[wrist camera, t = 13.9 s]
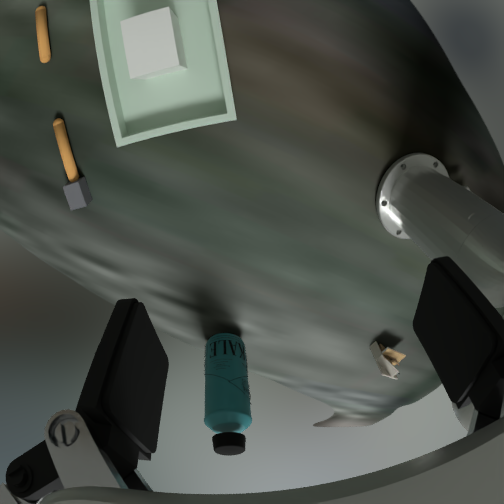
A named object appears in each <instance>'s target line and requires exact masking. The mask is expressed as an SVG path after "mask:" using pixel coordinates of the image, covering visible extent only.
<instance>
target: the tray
mask: <svg viewBox="0 0 504 504" xmlns="http://www.w3.org/2000/svg"><path fill="white" fill-rule="evenodd" d="M165 7H170V8H171V10H172V11H173V13H174V14H175V15H176V17H177V18H178V19H179V24H180V30H181V35H182V41H183V47H184V52H185V57H186V63H187V68H188V69H185V70H180V71H176V72H172V73H168V74H164V75H161V76H157V77H153V78H150V79H130V75H129V70H128V64H127V59H126V54H125V48H124V42H123V36H122V30H121V24H120V21H123V20H126V19H128V18H131V17H134V16H138V15H141V14H144V13H147V12H151V11H154V10H158V9H161V8H165ZM90 8H91V16H92V24H93V32H94V39H95V45H96V51H97V57H98V63H99V69H100V74H101V79H102V84H103V89H104V94H105V99H106V104H107V108H108V112H109V117H110V121H111V125H112V129H113V133H114V137H115V141H116V145H117V147H120V146H123V145H126V144H130V143H134V142H137V141H141V140H144V139H148V138H152V137H156V136H160V135H164V134H168V133H172V132H177V131H181V130H186V129H190V128H195V127H200V126H205V125H210V124H215V123H221V122H226V121H232V120H237V119H236V113H235V107H234V101H233V95H232V89H231V83H230V77H229V71H228V65H227V59H226V53H225V47H224V41H223V35H222V30H221V24H220V18H219V12H218V6H217V1H216V0H90Z"/></svg>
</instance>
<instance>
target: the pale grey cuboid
mask: <svg viewBox="0 0 504 504" xmlns="http://www.w3.org/2000/svg"><path fill="white" fill-rule="evenodd" d="M120 24H121V30H122V36H123V42H124V48H125V54H126V59H127V64H128V70H129V75H130V79H150V78H153V77H157V76H161V75H164V74H168V73H172V72H176V71H180V70H185V69H188V68H187V63H186V57H185V52H184V47H183V41H182V35H181V30H180V24H179V19H178V18H177V17H176V15H175V14H174V13H173V11H172V10H171V8H170V7H165V8H161V9H158V10H154V11H151V12H147V13H144V14H141V15H138V16H134V17H131V18H128V19H126V20H123V21H120Z"/></svg>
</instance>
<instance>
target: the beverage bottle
mask: <svg viewBox="0 0 504 504" xmlns="http://www.w3.org/2000/svg"><path fill="white" fill-rule="evenodd" d="M205 347H206V354H205V357H206V358H205V418H204V422H205V425H206V426H207V427H209V428H210V429H211V430H213V431H214V432H215V433H218V434H216V435H214V436H213V437H212V441H213V447H214V451H215V452H216V453H218V454H221V455H237V454H241V453H243V452H244V451H245V442H246V440H245V436H244V435H243V434H241V432H243V431H244V430H245V429H247V428H248V427H249V426H250V424H251V423H252V418H251V411H250V404H251V403H250V398H249V394H250V393H249V388H248V387H249V386H248V378H247V377H248V376H247V372H248V371H247V369H248V366H247V356H245V355H246V353H245V351H246V350H245V348H246V347H245V346H244V342H243V341H242V339H241V338H240V337H238V336H237V335H234V334H230V333H220V334H216V335H214V336H212V337H211V338H210V339H209V340H208V341H207V343H206V346H205Z"/></svg>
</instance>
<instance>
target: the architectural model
mask: <svg viewBox="0 0 504 504" xmlns="http://www.w3.org/2000/svg"><path fill="white" fill-rule="evenodd" d="M370 350H371V352H372V354H373V356H374V358H375V361H376V363H377V365H378V367H379V370H380V372H381V374H382V375H384V376H387V377H390V378H394V379H398V378H397V376H396V374H397V373H398V372H399V371H398V370H397V369H396V368H395V367H394V366H393V365H396V364H398V362H399V361H401V360H402V359H403V358H404V357H405V356H406V355H405V354H403V353H401V352H398V351H396V350H394V349H391V348H389V347H387V348H385V347H384V346H383V345H382V344H380V345H379V346H378V344H377V342H376V341H375V342H374V343H373V344H372V345H371V346H370ZM398 366H399V364H398Z"/></svg>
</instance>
